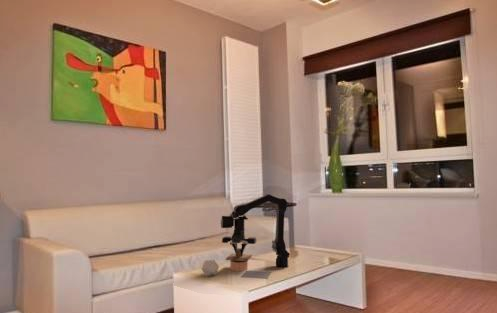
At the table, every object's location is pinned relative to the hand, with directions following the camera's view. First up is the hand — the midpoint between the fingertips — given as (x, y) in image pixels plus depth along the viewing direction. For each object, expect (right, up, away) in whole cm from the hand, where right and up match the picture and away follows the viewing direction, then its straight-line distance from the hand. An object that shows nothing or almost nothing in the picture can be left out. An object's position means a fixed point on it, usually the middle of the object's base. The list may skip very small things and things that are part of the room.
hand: (239, 255), depth 207 cm
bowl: (0, -8, 0) cm, 8 cm away
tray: (+9, -7, -13) cm, 17 cm away
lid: (0, -2, 0) cm, 2 cm away
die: (-15, -7, -12) cm, 21 cm away
